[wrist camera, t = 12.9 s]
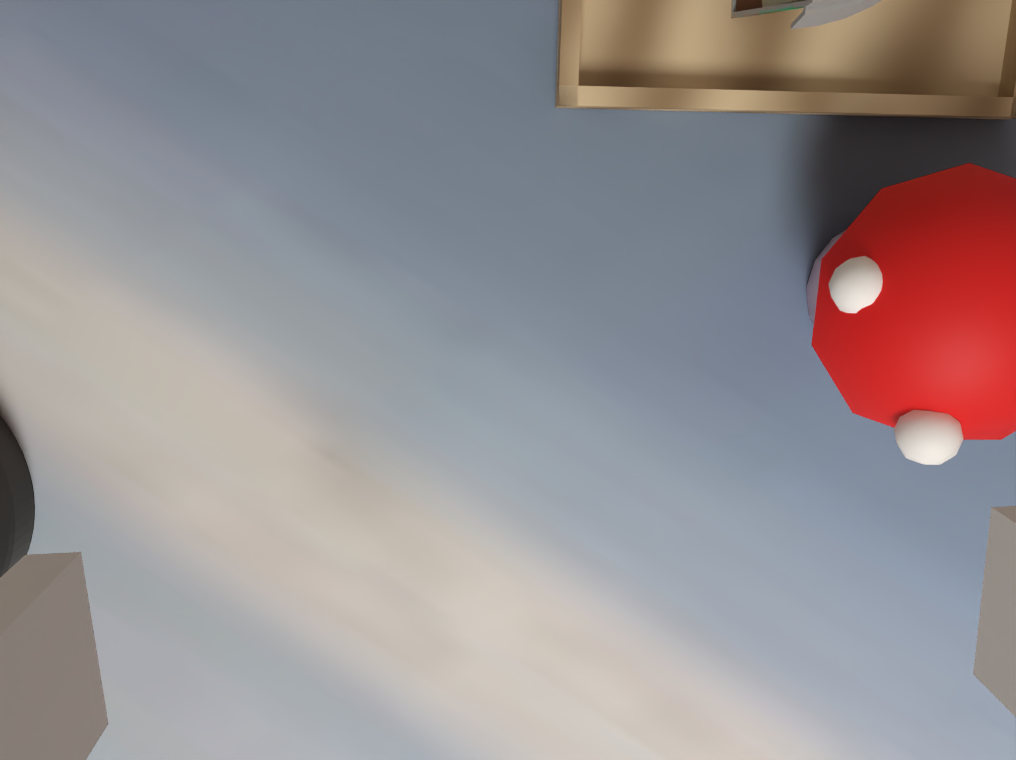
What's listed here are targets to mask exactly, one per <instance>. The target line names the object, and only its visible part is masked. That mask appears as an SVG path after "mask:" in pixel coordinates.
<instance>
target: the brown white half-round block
mask: <svg viewBox="0 0 1016 760" xmlns="http://www.w3.org/2000/svg"><path fill="white" fill-rule="evenodd" d="M880 1H881V0H732V6H731V18H740V17H748V16H757V15H763V14H769V13H775V12H781V11H787V10H793V9H799V8H804V10H803V11H802V13H801V14H800V15H799V16H798V17H797V18H796V19H795V20H794V21H793V22H792V24H791V29H797V28H805V27H814V26H820V25H823V24H827V23H831V22H834V21H838V20H841V19H845V18H847V17H850V16H852V15H854V14H856V13H858V12H861V11H863V10H865V9H867V8H869V7H872V6H874V5H875V4H877V3H878V2H880Z"/></svg>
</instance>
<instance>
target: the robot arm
mask: <svg viewBox="0 0 1016 760" xmlns="http://www.w3.org/2000/svg"><path fill="white" fill-rule="evenodd" d="M33 526H34V495H33V488H32V482H31V478H30V474H29V471H28V467H27V464H26V461H25V459H24V456H23V454H22V451H21V449H20V447H19V445H18V443H17V441H16V439H15V437H14V436H13V434H12V432H11V430H10V429H9V427H8V426H7V424H6V423H5V421H4V420H3V419H2V417H1V416H0V760H86V759H87V757H88V756H89V754H90V752H91V751H92V749H93V747H94V746H95V744H96V743H97V741H98V739H99V738H100V736H101V735H102V733H103V731H104V730H105V728H106V727H107V725H108V719H107V713H106V707H105V700H104V694H103V688H102V682H101V675H100V669H99V663H98V656H97V650H96V644H95V638H94V631H93V625H92V619H91V613H90V606H89V600H88V594H87V588H86V581H85V575H84V569H83V563H82V556H81V552H74V553H53V554H33V555H27V552H28V549H29V546H30V542H31V538H32V533H33ZM973 674H974V675H975V676H976V678H977V679H978V680H979V681H980V682H981V683H982V684H983V685H984V686H985V687H986V688H987V689H988V690H989V691H990V692H991V693H992V694H993V695H994V696H995V697H996V698H997V699H998V700H999V701H1000V702H1001V703H1002V704H1003V705H1004V706H1005V707H1006V708H1007V709H1008V710H1009V711H1010V712H1011V713H1012V714H1013V715H1014V716H1015V717H1016V506H1008V507H991V516H990V525H989V534H988V543H987V553H986V562H985V571H984V580H983V590H982V599H981V608H980V617H979V626H978V636H977V645H976V654H975V663H974V672H973Z"/></svg>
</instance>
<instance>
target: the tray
mask: <svg viewBox="0 0 1016 760" xmlns="http://www.w3.org/2000/svg"><path fill="white" fill-rule="evenodd" d="M731 6H732V0H559V18H558V47H557V75H556V104H555V108H586V109H624V110H662V111H701V112H739V113H777V114H816V115H854V116H892V117H931V118H969V119H1016V0H881V1H880V2H878V3H877V4H875V5H874V6H872V7H869V8H867V9H865V10H863V11H861V12H858V13H856V14H854V15H852V16H850V17H847V18H845V19H841V20H838V21H834V22H831V23H827V24H823V25H820V26H814V27H805V28H797V29H791V24H792V22H793V21H794V20H795V19H796V18H797V17H798V16H799V15H800V14H801V13H802V11H803V10H804V8H799V9H793V10H787V11H781V12H775V13H769V14H763V15H757V16H748V17H740V18H731Z"/></svg>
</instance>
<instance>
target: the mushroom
mask: <svg viewBox="0 0 1016 760" xmlns="http://www.w3.org/2000/svg"><path fill="white" fill-rule="evenodd" d="M806 292H807V304H808V315H809V317H810V319H811V321H812V322H813V324H814V328H813V337H812V347H813V348H814V350H815V351H816V353H817V355H818V356H819V358H820V360H821V361H822V363H823V365H824V366H825V368H826V370H827V371H828V373H829V375H830V376H831V378H832V379H833V381H834V383H835V384H836V386H837V388H838V389H839V391H840V393H841V394H842V396H843V398H844V399H845V401H846V403H847V404H848V406H849V407H850V409H851V411H852V412H853V413H855V414H857V415H860V416H863V417H866V418H869V419H871V420H874V421H877V422H880V423H883V424H885V425H888V426H891V427H894V432H895V437H896V441H897V445H898V446H899V448H900V449H901V451H902V452H903V454H904V456H905V457H906V458H907V459H910V460H913V461H915V462H918V463H921V464H927V465H940V464H942V463H944V462H945V461H947V460H949V459H950V458H952V457H954V456H955V455H956V454H957V452H958V450H959V448H960V445H961V443H962V441H963V440H1001V439H1003V438H1005V437H1006V436H1008V435H1010V434H1011V433H1013V432H1015V431H1016V178H1013V177H1010V176H1007V175H1004V174H1001V173H998V172H995V171H992V170H989V169H986V168H983V167H980V166H977V165H974V164H971V163H967V164H964V165H960V166H957V167H953V168H950V169H946V170H943V171H940V172H936V173H933V174H929V175H926V176H922V177H919V178H916V179H912V180H909V181H905V182H902V183H898V184H895V185H892V186H888V187H885V188H881V190H880V191H879V192H878V193H877V194H876V196H875V197H874V198H873V199H872V200H871V201H870V203H869V204H868V205H867V206H866V207H865V208H864V210H863V211H862V212H861V213H860V214H859V216H858V217H857V218H856V219H855V220H854V221H853V223H852V224H851V225H850V226H849V227H848V228H847V229H846V230H845V231H843V232H841V233H840V234H838V235H836V236H835V237H833V238H832V239H831V241H830V242H829V243H828V244H827V246H826V247H825V248H824V249H823V251H822V252H821V253H820V255H819V256H818V257H817V258H816V260H815V261H814V264H813V267H812V271H811V274H810V277H809V280H808V284H807V287H806Z"/></svg>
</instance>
